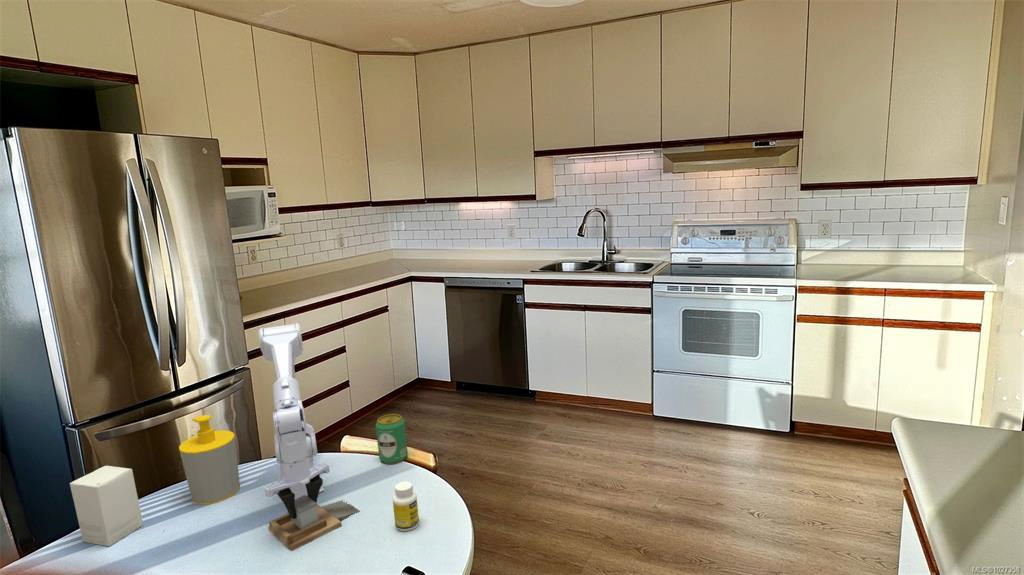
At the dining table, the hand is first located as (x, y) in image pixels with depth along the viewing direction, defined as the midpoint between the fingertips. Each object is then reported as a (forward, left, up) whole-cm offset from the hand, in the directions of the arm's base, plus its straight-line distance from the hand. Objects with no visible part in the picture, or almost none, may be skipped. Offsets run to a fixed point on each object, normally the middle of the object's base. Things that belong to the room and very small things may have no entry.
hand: (303, 512), depth 133 cm
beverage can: (-13, +33, -4) cm, 36 cm away
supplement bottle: (+18, +16, -4) cm, 24 cm away
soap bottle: (-35, -8, -4) cm, 36 cm away
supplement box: (-35, -31, -4) cm, 47 cm away
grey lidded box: (0, 0, -2) cm, 2 cm away
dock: (0, +3, -4) cm, 5 cm away
